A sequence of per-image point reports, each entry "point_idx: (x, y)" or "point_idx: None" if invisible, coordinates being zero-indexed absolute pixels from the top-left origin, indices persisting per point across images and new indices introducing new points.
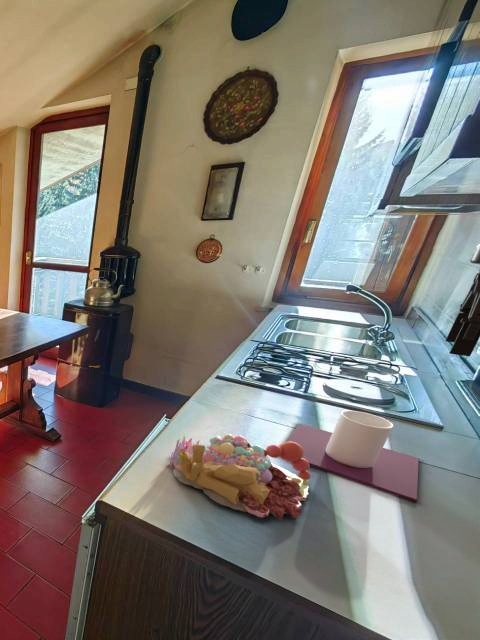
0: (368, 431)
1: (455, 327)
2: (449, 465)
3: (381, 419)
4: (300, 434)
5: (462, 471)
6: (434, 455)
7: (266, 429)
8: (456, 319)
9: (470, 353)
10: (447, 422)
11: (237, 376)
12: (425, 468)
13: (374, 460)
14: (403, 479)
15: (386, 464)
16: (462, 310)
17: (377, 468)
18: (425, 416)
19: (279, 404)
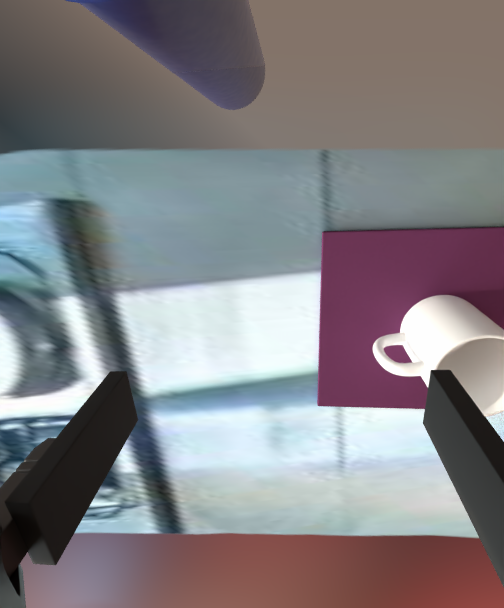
0: None
1: (101, 468)
2: (296, 183)
3: (444, 353)
4: (379, 397)
5: (310, 163)
6: (262, 207)
7: (389, 436)
8: (80, 518)
9: (455, 381)
10: (8, 192)
11: (130, 512)
12: (355, 218)
13: (467, 302)
14: (466, 248)
15: (412, 275)
16: (19, 574)
17: (447, 286)
18: (14, 229)
19: (227, 439)
